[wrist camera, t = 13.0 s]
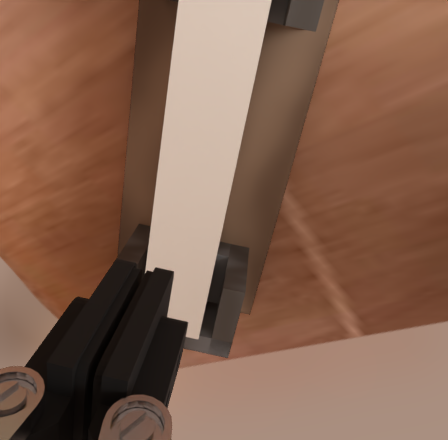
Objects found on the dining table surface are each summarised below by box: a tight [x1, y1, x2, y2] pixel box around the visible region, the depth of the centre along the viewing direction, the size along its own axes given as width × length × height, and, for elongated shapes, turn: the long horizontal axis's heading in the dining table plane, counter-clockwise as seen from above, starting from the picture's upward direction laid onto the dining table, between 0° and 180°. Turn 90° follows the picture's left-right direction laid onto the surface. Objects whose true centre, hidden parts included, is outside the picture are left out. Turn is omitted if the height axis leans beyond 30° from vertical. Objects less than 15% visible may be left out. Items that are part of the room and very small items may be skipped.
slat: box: [145, 0, 272, 339], centre depth 24 cm, size 22×4×6 cm, turn 169°
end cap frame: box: [117, 0, 339, 358], centre depth 27 cm, size 12×29×8 cm, turn 169°
